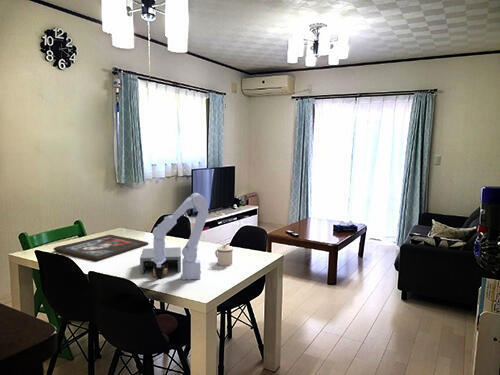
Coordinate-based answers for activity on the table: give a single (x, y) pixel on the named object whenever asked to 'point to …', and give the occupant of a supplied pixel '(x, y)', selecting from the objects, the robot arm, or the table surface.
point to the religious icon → (101, 247)
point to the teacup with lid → (224, 255)
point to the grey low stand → (170, 254)
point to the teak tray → (163, 270)
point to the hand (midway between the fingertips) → (159, 276)
